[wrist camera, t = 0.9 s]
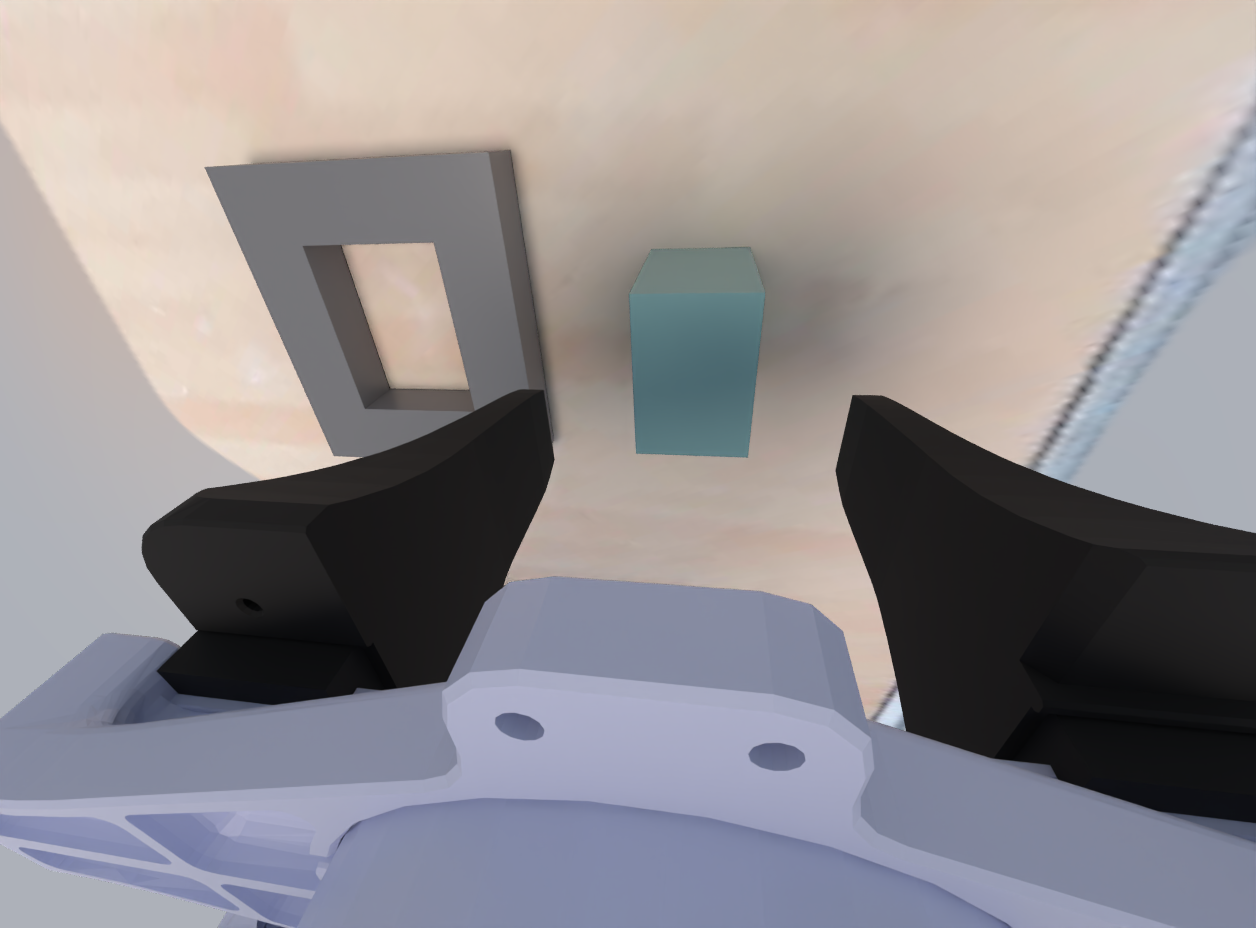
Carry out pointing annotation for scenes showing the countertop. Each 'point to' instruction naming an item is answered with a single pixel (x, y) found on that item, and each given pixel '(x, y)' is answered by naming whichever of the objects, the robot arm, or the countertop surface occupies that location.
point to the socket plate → (328, 302)
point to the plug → (695, 350)
